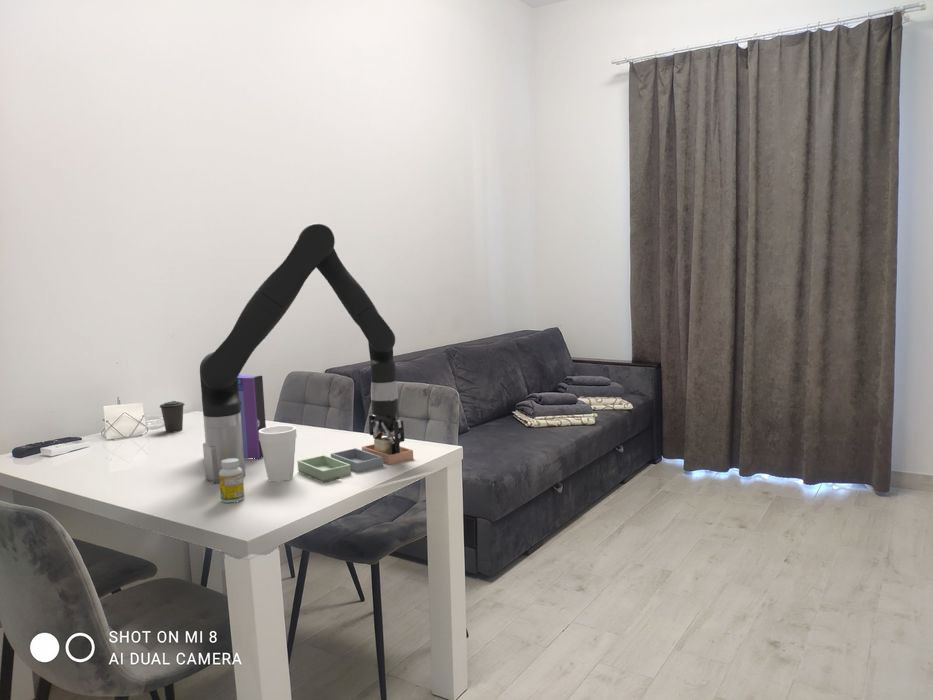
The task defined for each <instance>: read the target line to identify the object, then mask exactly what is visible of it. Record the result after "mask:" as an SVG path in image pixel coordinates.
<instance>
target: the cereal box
mask: <svg viewBox="0 0 933 700" xmlns="http://www.w3.org/2000/svg"><path fill="white" fill-rule="evenodd" d="M263 379H264V378H263V375H247V374H245V375H241V374H239V375H238V391H239V400H240V412H241V425H242V439H243V452H244V458H253V459H252V460H257V459H258V460H260V459H259V458H261V457H263V453H262V448H261V444H260V441H259V433H258V431H259V430H260V429H263V428H266V427H267V425H266V410H265V409H266V408H265V395H264V382H263V381H264V380H263ZM254 458H255V459H254ZM261 459H262V458H261Z"/></svg>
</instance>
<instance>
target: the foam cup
mask: <svg viewBox="0 0 933 700" xmlns="http://www.w3.org/2000/svg"><path fill="white" fill-rule="evenodd" d="M258 433H259V441H260V444H261V448H262V453H263V458H262V459H263V462H264V468H265V472H266V477H267V481H269V480H270V481H269V482H272V481H281V482H285V481H284V480H287V481H289V480H288V479H290V480H291V478H292V477H293V478H294V469H295V454H296V442H297V441H296V439H297V436H298V435H297V426H294V425H282V424H281V425H272V426H268V427H267V426H266V428H263V429H260V430H259V431H258ZM293 478H292V479H293Z"/></svg>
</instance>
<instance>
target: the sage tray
mask: <svg viewBox="0 0 933 700" xmlns="http://www.w3.org/2000/svg"><path fill="white" fill-rule="evenodd" d="M297 471H299V472H298V473H300V472H301V473H300V474H302V473H303V475H305V476H308V477H309V476H310V477H309V478H312V479H314V480H316V481H318V482H321V483H328V482H332V481H337V480H341V478H340V477H345V476H349V475H351V474H352V470H351V465H350V464H347V463H344V462H342V461H339V460H336V459H334V458H331V456H328V455H325V454H322V455H318V456H314V457H313V456H312V457H310V458H305V459H301V460H297ZM336 479H337V480H336Z"/></svg>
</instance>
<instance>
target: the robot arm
mask: <svg viewBox="0 0 933 700" xmlns="http://www.w3.org/2000/svg"><path fill="white" fill-rule="evenodd" d="M331 229H332V228H330V227H329V226H328V225H326V224H322V223H312V224H308V225H307V226H306V227H304V228H303V229H302V230H301V232H300V233H299V235H298V238H297V240H296V241H295V244H294V245H293V247H292V249H291V250H290V252H288V255H287V256H286V257H285V258H284V260H283V262H282V263H281V264H279V266H278V267H277V268H276V269H275V270H273V272H272V273H271V274H270V275H268V277H267V278H266V279H265V280H264V281H263V282H262V283H261V284H260V286H259V287H258V288H257V290H256V291H255V292H254V293H253V295H252V296H251V298H250V299H249V300H248V301H247V303H246V305H245V306H244V307H243V310H242V311H241V313H239V316H238V318H237V320H236V322H235V324H234V326H233V328H232V330H231V332H230V333H229V334H228V335H227V336H226V338H225V339H224V340H223V341H222V343H221V344H220V345H219V346H218V347H217V348H216V350H215V351H213V352H210V353H208V354H207V355H206V356H204V357H203V359H202V360H201V362H200V365H199V377H200V381H199V382H200V390H201V391H200V393H201V404H202V405H201V406H202V415H203V426H204V427H203V428H204V439H205V440H204V443H203V444H202V449H203V450H202V451H203V464H204V476H205V479H206V480H207V479H208V480H207V481H209V482H211V483H212V482H213V483H212V484H217V483H220V481H219V472H220V470H221V469H223V468H222V466H221V461H222V460H225V459H230V458H236V459H239V466H238V467H240V468H241V469H242V471H243V478H244V477H245V476H246V472H245V471H246V468H245V459H244V452H243V439H242V425H241V412H240V400H239V391H238V375H241V371H242V370H243V369H244V367H245V365H246V364H247V362H248V360H249V358H250V357H251V356H252V354H253V352H254V351H255V350H256V349H257V348H258V346H259V345H260V344H261V343H262V342H263V341H264V340H265V339H266V338H267V336H268V335H269V334H270V333H271V331H272V330H274V328H275V327H276V326H277V324H278V323H279V322H280V321H281V319H282V318H283V317H284V316H285V314H286V313H287V311H288V310H289V309H290V307H291V306H292V304H293V302H294V301H295V299H296V298H297V296H298V294H299V293H300V291H301V289H302V287H303V286H304V284H305V282H306V281H307V279H308V278H309V277H310V275H311V274H312V273H313V272H314V270H315V269H316V270H318V271H319V272H320V274H321V275H322V276H323V278H324V279H325V280H326V281H327V283H328V284H329V286H330V287H331V289H332V290H333V291H334V293H335V294H336V296H337V298H338V299H339V301H340V302H341V304H342V305H343V307H344V308H345V310H346V311H347V313H348V314H349V315H350V318H352V320H353V322H354V323H355V324H356V325H357V326H358V327H359V328H360V330H361V332H362V333H363V335H364V337H365V338H366V340H367V344H368V352H369V359H370V360H369V361H370V384H371V385H370V398H371V399H370V400H371V402H370V404H371V414H370V415H368V422H369V423H368V425H369V426H368V427H369V428H368V430H369V436H372V438H373V439H374V440H375V439H379V438H383V435H384V434H385V435H386V437H389V438H390V440H391V443H392V444H391V448H392V454H396V453H400V446H401V445H400V444H401V443H403V442H405V439H406V438H405V429H404V428H405V427H404V426H405V425H404V420H403V419H400V420H397V419H396V418H397V417H396V415H397V414H398V413H399V411H400V410H399V390H398V389H399V388H398V383H397V372H396V371H397V369H396V363H395V360H394V346H395V344H396V335H395V333H394V332H393V330H392V329H391V327H390V326H389V324H388V323H387V322H386V321H385V320H384V318H383V316H381V315H380V313H379V311H378V310H377V308H376V306H375V304H374V303H373V301H372V300H371V298H370V297H369V295H368V294H367V292H366V291H365V289H363V287H362V286H361V285H360V283H359V282H358V281H357V279H355V277H353V275H352V274H351V272H349V271H348V270H347V268H346V267H345V265H344V264H343V263H342V261H341V259H340V257H339V256H338V254H337V252H336V249H335V245H336V244H335V243H336V241H335V240H336V239H335V235H334V232H333V230H331ZM394 438H395V439H394Z"/></svg>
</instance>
